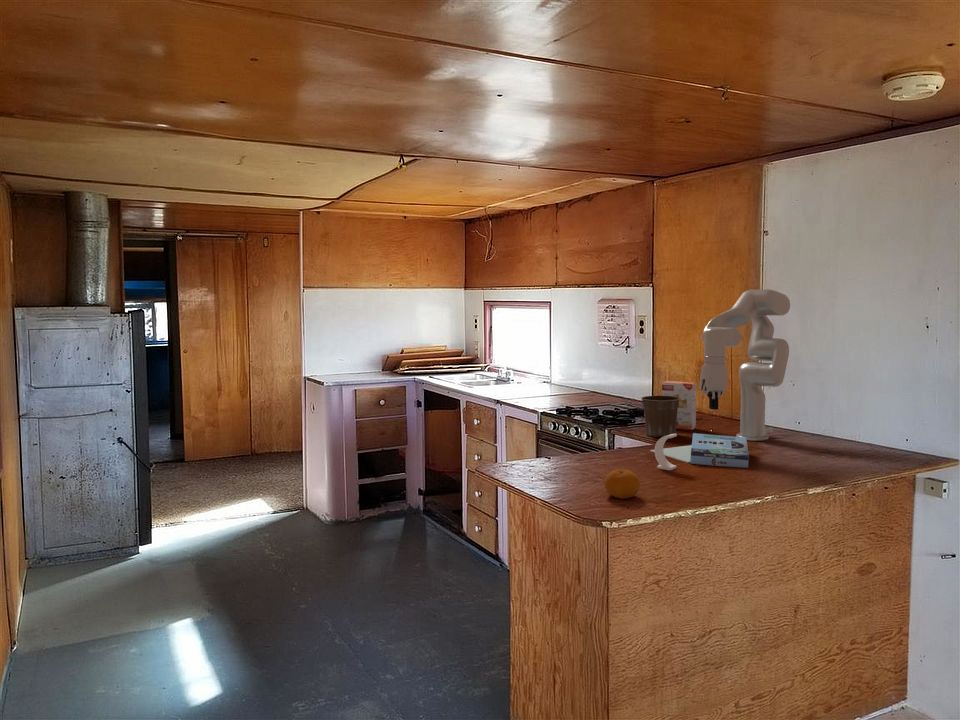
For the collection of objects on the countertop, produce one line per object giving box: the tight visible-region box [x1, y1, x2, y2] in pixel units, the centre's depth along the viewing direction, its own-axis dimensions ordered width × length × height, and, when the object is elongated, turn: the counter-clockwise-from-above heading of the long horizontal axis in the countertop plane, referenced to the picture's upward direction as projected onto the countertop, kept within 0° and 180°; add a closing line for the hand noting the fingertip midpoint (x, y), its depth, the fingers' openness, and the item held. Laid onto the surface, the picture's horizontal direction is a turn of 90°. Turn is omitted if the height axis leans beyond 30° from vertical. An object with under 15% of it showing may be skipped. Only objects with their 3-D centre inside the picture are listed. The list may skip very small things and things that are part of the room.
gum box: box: [689, 432, 750, 468], centre depth 261 cm, size 20×5×23 cm
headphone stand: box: [653, 433, 678, 471], centre depth 248 cm, size 5×6×12 cm
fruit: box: [604, 468, 641, 500], centre depth 214 cm, size 10×10×8 cm
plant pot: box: [640, 395, 680, 438], centre depth 305 cm, size 16×16×16 cm
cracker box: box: [661, 380, 697, 431], centre depth 320 cm, size 14×6×21 cm, turn 55°
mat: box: [649, 444, 692, 464], centre depth 269 cm, size 20×22×1 cm
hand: (713, 408), depth 272 cm, fingers closed
